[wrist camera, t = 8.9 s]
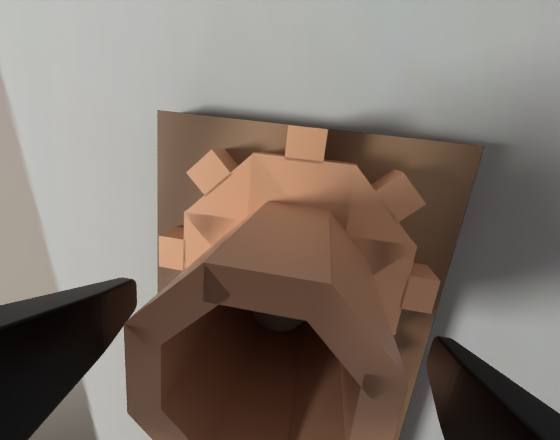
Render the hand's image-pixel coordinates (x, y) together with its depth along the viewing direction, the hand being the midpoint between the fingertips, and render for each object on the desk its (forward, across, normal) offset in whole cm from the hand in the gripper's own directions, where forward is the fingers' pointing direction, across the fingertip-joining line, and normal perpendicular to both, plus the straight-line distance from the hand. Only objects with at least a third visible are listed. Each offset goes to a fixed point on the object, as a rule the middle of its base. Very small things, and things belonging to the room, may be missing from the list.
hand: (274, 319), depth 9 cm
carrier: (+6, 0, +5) cm, 8 cm away
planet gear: (+5, 0, 0) cm, 5 cm away
